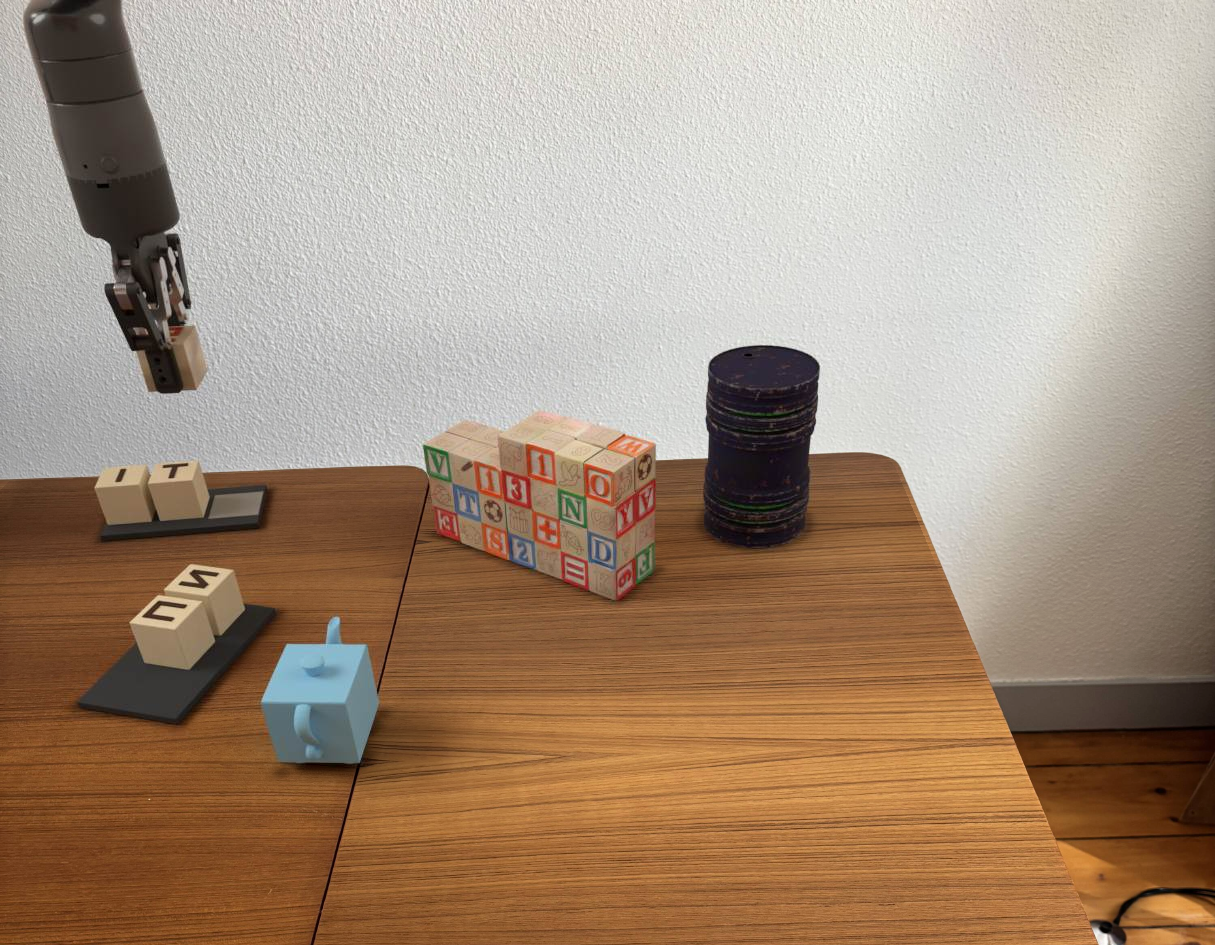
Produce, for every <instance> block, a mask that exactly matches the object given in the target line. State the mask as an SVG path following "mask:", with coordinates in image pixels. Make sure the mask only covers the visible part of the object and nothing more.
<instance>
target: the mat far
mask: <svg viewBox="0 0 1215 945" xmlns="http://www.w3.org/2000/svg"><path fill="white" fill-rule="evenodd" d="M201 466H202V465H201V463H200V460H186V461H174V462H162V463H161V462H160V463H155V465H154V466H153V469H152V472H150V470H149V467H148V465H147V464H137V465H123V466H111V467H103V469H102V471H101V473H100V475H99V477H98V479H97V482H96V483H95V486H94V491H95V493H96V496H97V499H98V501H99V505H100V507H101V511H102V513H103V515H104V518H105V521H104V522H105V523H104V524H103V527H102V529H101V532H100V534H99V538H100V540H101V542H108V541H119V540H120V541H121V540H128V539H129V540H131V539H145V538H156V537H169V536H179V535H181V536H182V535H193V534H205V533H217V532H218V533H219V532H230V531H242V530H254V529H259V528H260V524H261V520H262V515H263V510H264V508H265V507H264V506H265V502H266V498H267V493H268V486H267V484H257V485H256V484H255V485H245V486H244V485H243V486H232V487H231V486H230V487H218V488H207V483H206V480H205V477H204V473H203V469H202V467H201Z"/></svg>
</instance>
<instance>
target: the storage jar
mask: <svg viewBox="0 0 1215 945" xmlns="http://www.w3.org/2000/svg"><path fill="white" fill-rule="evenodd" d="M820 372H821V365H820V362H819V361H818V360H817V359H816V358H815V357H814V356H812V355H811V354H809V353H807V352H805V351H803V350H799V349H796V348H793V347H787V346H781V345H772V344H771V345H770V344H755V345H753V344H752V345H744V346H738V347H734V348H730V349H728V350H727V349H726V350H724V351H722V352H719V353H718V354H716V355H715V356H713V357H712V358H711V359H710V360H709V362H708V365H707V378H708V380H707V388H706V389H707V392H706V395H705V410H706V415H705V418H704V421H705V427H706V431H707V433H708V440H707V442H708V444H707V445H708V446H707V463H706V465H705V467H704V483H703V489H702V490H703V492H702V494H703V495H702V498H703V508H704V515H703V527H704V529H705V531H706V532H707V533H708V534H709V535H710V536H711V537H712V538H714V539H715V540H717V541H719V542H721V543H723V544H726V545H730V546H733V547H737V548H738V547H739V548H745V549H768V548H774V547H779V546H783V545H786V544H789V543H791V542H792V541H795V540H796V539H797V538H798V537H800V536H801V534H802V533H804V531H805V527H806V513H807V508H808V503H809V499H810V488H811V487H810V482H811V469H810V466H809V460H810V450H811V440H812V435H813V434H814V432H815V427H816V425H817V418H816V414H817V413H818V404H819V394H818V393H819V380H820Z"/></svg>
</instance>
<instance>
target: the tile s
mask: <svg viewBox="0 0 1215 945" xmlns="http://www.w3.org/2000/svg"><path fill="white" fill-rule="evenodd" d="M168 328H169V333H170V338H171V342H172V344H171V347H173V351H174V354H175V358H176V361H177V365H178V368H179V372H180V375H181V378H182V382H183V389H182V390H181V392H182V391H197V389H198V388H199V387H200V386H201V383H202V382H203V380H204V379H205V377H206V374H207V373H208V371H209V370H208V367H207V363H206V360H205V359H206V358H205V355H204V352H203V347H202V344H201V341H200V337H199V334H198V333H199V332H198V330H197V326H196V325H187V326H186V325H185V326H171V327H168ZM145 331H146V334H148V332H147V330H146V329H145ZM135 354H136V356H137V359H138V363H139V366H140V370H141V372H142V376H143V379H144V382H145V385H146V389H147V391H148V393H156V392H157V393H159V392H158V391H157V390H156V387H155V384H154V381H153V377H152V374H151V371H150V368H149V364H148V361H147V358H146V355H145V351H144V350H143V351H135Z"/></svg>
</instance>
